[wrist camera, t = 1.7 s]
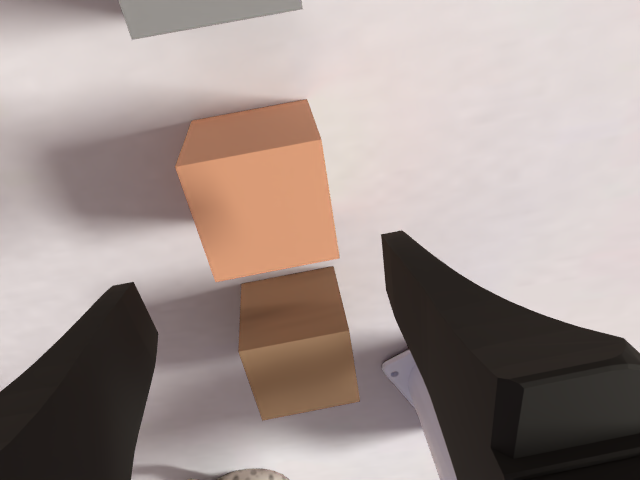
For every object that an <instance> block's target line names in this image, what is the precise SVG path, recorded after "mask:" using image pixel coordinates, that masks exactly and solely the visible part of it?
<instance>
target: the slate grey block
mask: <svg viewBox="0 0 640 480" xmlns="http://www.w3.org/2000/svg"><path fill="white" fill-rule="evenodd" d="M118 1H119V4H120V7H121V10H122V13H123V15H124V18H125V21H126V24H127V27H128V30H129V33H130V36H131V38H132V40H133V39H139V38H144V37H150V36H156V35H161V34H167V33H172V32H178V31H183V30H189V29H195V28H200V27H206V26H211V25H217V24H222V23H228V22H234V21H239V20H245V19H250V18H256V17H261V16H267V15H273V14H278V13H284V12H289V11H295V10H300V9H303V8H302V1H301V0H118Z"/></svg>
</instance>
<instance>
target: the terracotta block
mask: <svg viewBox="0 0 640 480" xmlns="http://www.w3.org/2000/svg"><path fill="white" fill-rule="evenodd" d="M175 168H176V171H177V174H178V177H179V180H180V182H181V185H182V188H183V191H184V194H185V197H186V199H187V202H188V205H189V208H190V211H191V214H192V217H193V219H194V222H195V225H196V228H197V231H198V234H199V236H200V239H201V242H202V245H203V248H204V251H205V253H206V256H207V259H208V262H209V265H210V268H211V271H212V273H213V276H214V279H215V282H219V281H224V280H229V279H235V278H240V277H245V276H250V275H255V274H260V273H265V272H271V271H276V270H281V269H286V268H291V267H296V266H302V265H307V264H312V263H317V262H322V261H327V260H332V259H338V258H339V251H338V245H337V238H336V232H335V225H334V219H333V212H332V206H331V199H330V193H329V186H328V180H327V173H326V167H325V160H324V154H323V147H322V141H321V137H320V134H319V132H318V129H317V126H316V123H315V120H314V117H313V115H312V112H311V109H310V106H309V103H308V101H307V99H306V100H300V101H295V102H290V103H284V104H279V105H273V106H268V107H263V108H257V109H252V110H247V111H241V112H236V113H230V114H225V115H220V116H214V117H209V118H203V119H198V120H193V121H191V124H190V127H189V130H188V132H187V135H186V138H185V141H184V144H183V146H182V149H181V152H180V155H179V157H178V160H177V163H176V166H175Z"/></svg>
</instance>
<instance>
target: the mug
mask: <svg viewBox="0 0 640 480" xmlns="http://www.w3.org/2000/svg"><path fill="white" fill-rule="evenodd" d="M188 480H198V479H188ZM217 480H289V479H288V478H287V477H285V476H284V475H283V474H280V473H278V472H275V471H272V470H267V469H244V470H238V471H235V472H231V473H228V474H226V475H224V476H222V477H220V478H218V479H217Z"/></svg>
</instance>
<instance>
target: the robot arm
mask: <svg viewBox="0 0 640 480" xmlns="http://www.w3.org/2000/svg"><path fill="white" fill-rule="evenodd" d="M381 237H382V248H383V260H384V272H385V283H386V291H387V294H388V297H389V301H390V304H391V307H392V310H393V313H394V316H395V319H396V321H397V324H398V326H399V328H400V330H401V332H402V335H403V337H404V339H405V341H406V343H407V346H408V348H409V350H407V351H405V352H403V353H401V354H399V355H397V356H395V357H393V358H391V359H389V360H387V361H386V362H384V363H383V365H382V369H383V372H384V374H385V375H386V376H387V377H388V378H389V379H390V380H391V382H392V383H393V384H394V385H395V386H396V387H397V389H398V390H399V391H400V392H401V393H402V394H403V395H404V397H405V398H406V399H407V400H408V401H409V402H410V403H411V405H412V406H413V407H414V408H415V409H416V412H417V415H418V417H419V420H420V423H421V426H422V429H423V432H424V435H425V437H426V440H427V443H428V446H429V449H430V452H431V455H432V458H433V460H434V463H435V466H436V469H437V472H438V475H439V478H440V480H640V353H639V352H638V351H637V350H636V349H635V348H634V347H632V346H631V345H630V344H629V343H628V342H627V341H626V340H625V339H624V338H621V337H617V336H613V335H609V334H605V333H601V332H597V331H593V330H589V329H585V328H581V327H578V326H575V325H572V324H568V323H565V322H562V321H559V320H556V319H553V318H550V317H547V316H545V315H542V314H539V313H537V312H534V311H532V310H529V309H527V308H524V307H522V306H519V305H517V304H515V303H512V302H510V301H508V300H506V299H504V298H502V297H500V296H498V295H496V294H494V293H492V292H490V291H488V290H486V289H484V288H482V287H480V286H479V285H477V284H475V283H473V282H472V281H470V280H468V279H467V278H465V277H464V276H462V275H460V274H459V273H457V272H456V271H454V270H453V269H451V268H450V267H449V266H447V265H446V264H444V263H443V262H442V261H440V260H439V259H437V258H436V257H435V256H433V255H432V254H431V253H430V252H428V251H427V250H426V249H425V248H423V247H422V246H421V245H420V244H418V243H417V242H416V241H415V240H413V239H412V238H411V237H410V236H409V235H407V234H406V233H405V232H403V231H397V232H392V233H387V234H381ZM157 342H158V332H157V330H156V328H155V326H154V324H153V322H152V319H151V317H150V315H149V313H148V311H147V309H146V307H145V305H144V303H143V301H142V298H141V296H140V294H139V292H138V290H137V288H136V286H135V284H134V282H131V283H125V284H120V285H115V286H112V287H111V288H110V289H109V290H107V291H106V292H105V293H104V294H103V295H102V296H101V297H100V298H99V299H98V300H97V301H96V302H95V303H94V304H93V305H92V306H91V308H90V309H89V310H88V311H87V312H86V313H85V314H84V315H83V316H82V317H81V318H80V319H79V320H78V321H77V322H76V323H75V324H74V325H73V326H72V327H71V328H70V329H69V330H68V331H67V332H66V333H65V334H64V335H63V336H62V337H61V338H60V339H59V340H58V341H57V342H56V343H55V344H54V345H53V346H52V347H51V348H50V349H49V350H48V351H47V352H46V353H44V354H43V355H42V356H41V357H40V358H39V359H38V360H37V361H36V362H35V363H34V364H33V365H32V366H31V367H29V368H28V369H27V370H26V371H25V372H24V373H23V374H21V375H20V376H19V377H18V378H17V379H15V380H14V381H13V382H12V383H11V384H9V385H8V386H7V387H6V388H4V389H3V390H2V391H1V392H0V480H131V474H132V467H133V459H134V452H135V447H136V442H137V437H138V433H139V429H140V425H141V421H142V417H143V413H144V409H145V405H146V401H147V397H148V393H149V389H150V385H151V381H152V377H153V372H154V368H155V362H156V353H157ZM394 371H395V372H394Z"/></svg>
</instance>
